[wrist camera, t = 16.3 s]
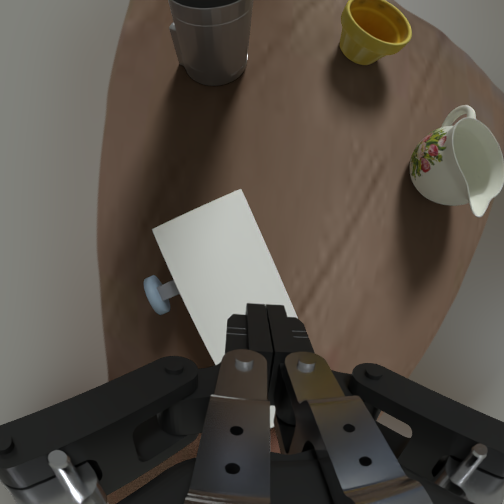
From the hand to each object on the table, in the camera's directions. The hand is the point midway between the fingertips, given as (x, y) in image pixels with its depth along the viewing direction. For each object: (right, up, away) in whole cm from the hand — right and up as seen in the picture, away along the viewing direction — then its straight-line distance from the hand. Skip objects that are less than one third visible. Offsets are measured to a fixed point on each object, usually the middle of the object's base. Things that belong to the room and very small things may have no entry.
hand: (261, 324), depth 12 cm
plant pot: (+17, +36, +28) cm, 49 cm away
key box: (-1, -4, +28) cm, 28 cm away
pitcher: (+27, +16, +30) cm, 43 cm away
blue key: (-8, 0, +23) cm, 25 cm away
